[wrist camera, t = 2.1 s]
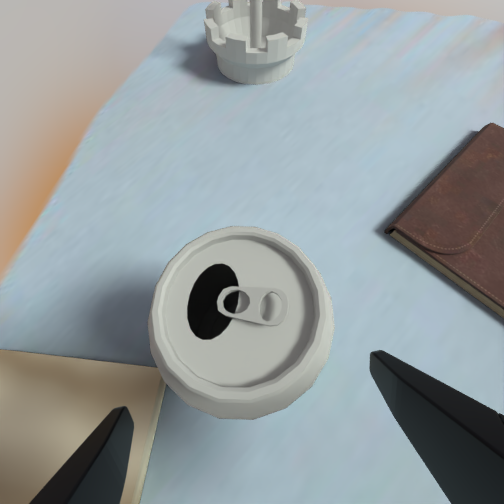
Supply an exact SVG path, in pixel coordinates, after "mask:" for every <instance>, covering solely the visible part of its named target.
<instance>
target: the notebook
mask: <svg viewBox="0 0 504 504" xmlns="http://www.w3.org/2000/svg"><path fill="white" fill-rule="evenodd" d="M393 228H395V230H394V231H393V232H392V233H391V234H390V236H392V237H393V238H394V239H396V240H397V241H399V242H400V243H401V244H403V245H404V246H405V247H407V248H408V249H410V250H411V251H412V252H414V253H415V254H416V255H418V256H419V257H420V258H422V259H423V260H425V261H426V262H427V263H429V264H430V265H431V266H433V267H434V268H436V269H437V270H438V271H440V272H441V273H442V274H444V275H445V276H446V277H448V278H449V279H451V280H452V281H453V282H455V283H456V284H457V285H459V286H460V287H462V288H463V289H464V290H466V291H467V292H468V293H470V294H471V295H472V296H474V297H475V298H477V299H478V300H479V301H481V302H482V303H483V304H485V305H486V306H488V307H489V308H490V309H492V310H493V311H494V312H496V313H497V314H498V315H500V316H501V317H503V318H504V128H503V127H500V126H498V125H496V124H494V123H490V124H488V125H486V126H484V127H483V128H482V129H481V130H480V131H479V132H478V133H477V134H476V135H475V136H474V137H473V138H472V139H471V141H470V142H469V143H468V144H467V145H466V146H465V147H464V148H463V149H462V150H461V151H460V152H459V153H458V154H457V155H456V156H455V157H454V158H453V159H452V160H451V161H450V163H449V164H448V165H447V166H446V167H445V168H444V169H443V170H442V171H441V172H440V173H439V174H438V175H437V176H436V177H435V178H434V179H433V180H432V181H431V182H430V183H429V184H428V186H427V187H426V188H425V189H424V190H423V191H422V192H421V193H420V194H419V195H418V196H417V197H416V198H415V199H414V200H413V201H412V202H411V203H410V204H409V205H408V206H407V208H406V209H405V210H404V211H403V212H402V213H401V214H400V215H399V216H398V217H397V218H396V219H395V220H394V221H393V222H392V223H391V224H390V225H389V226H388V227H387V228H386V230H385V233H386V234H387V233H388V232H389V231H390V230H391V229H393Z"/></svg>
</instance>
